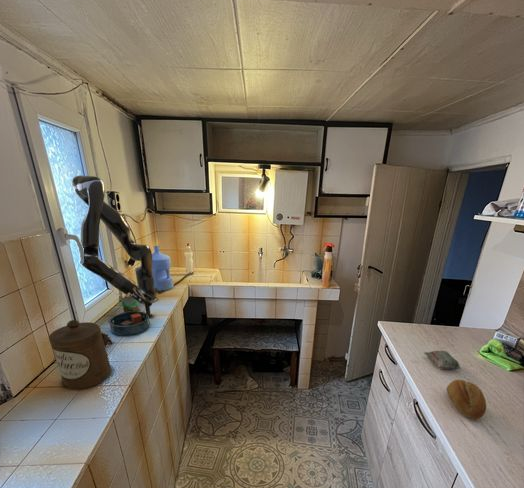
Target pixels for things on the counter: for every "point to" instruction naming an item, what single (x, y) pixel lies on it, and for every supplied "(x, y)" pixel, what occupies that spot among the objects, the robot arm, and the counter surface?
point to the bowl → (130, 329)
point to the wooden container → (80, 354)
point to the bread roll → (467, 398)
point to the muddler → (148, 309)
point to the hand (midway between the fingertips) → (150, 302)
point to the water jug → (161, 270)
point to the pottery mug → (106, 339)
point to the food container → (129, 303)
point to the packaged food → (443, 359)
